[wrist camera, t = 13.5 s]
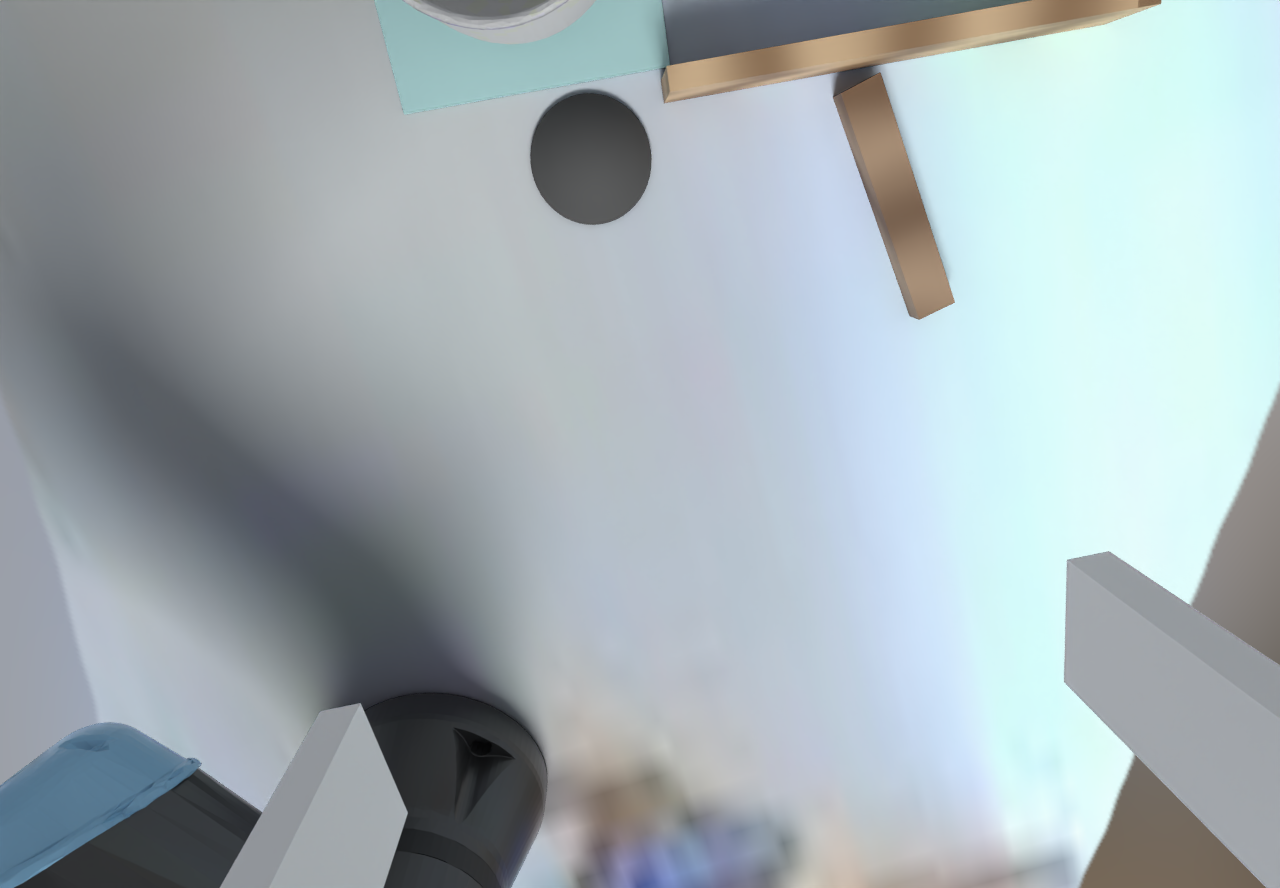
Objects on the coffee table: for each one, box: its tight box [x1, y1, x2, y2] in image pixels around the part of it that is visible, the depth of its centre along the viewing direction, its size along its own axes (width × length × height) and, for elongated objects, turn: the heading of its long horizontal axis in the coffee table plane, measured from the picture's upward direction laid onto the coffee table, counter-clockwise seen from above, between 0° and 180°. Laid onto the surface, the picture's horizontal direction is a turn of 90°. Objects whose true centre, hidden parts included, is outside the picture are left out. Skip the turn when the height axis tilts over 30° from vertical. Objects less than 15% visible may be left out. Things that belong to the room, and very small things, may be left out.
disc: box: [531, 93, 651, 225], centre depth 33 cm, size 6×6×1 cm
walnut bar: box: [833, 73, 955, 319], centre depth 34 cm, size 12×2×2 cm, turn 27°
